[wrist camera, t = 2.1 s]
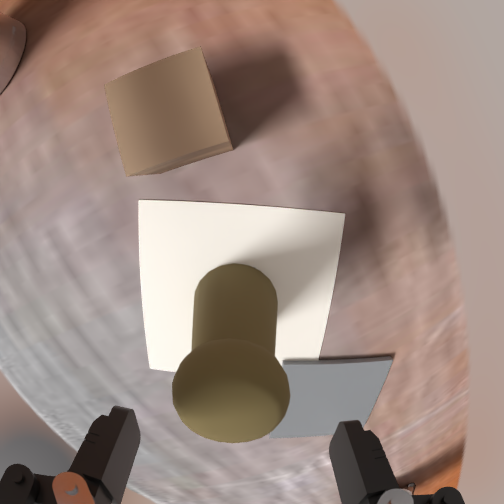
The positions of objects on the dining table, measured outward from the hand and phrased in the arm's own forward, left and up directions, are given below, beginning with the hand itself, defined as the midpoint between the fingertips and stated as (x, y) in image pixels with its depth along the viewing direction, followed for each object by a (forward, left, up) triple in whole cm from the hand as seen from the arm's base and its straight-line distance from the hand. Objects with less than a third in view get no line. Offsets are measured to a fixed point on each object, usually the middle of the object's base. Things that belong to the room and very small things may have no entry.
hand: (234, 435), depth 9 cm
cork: (0, 0, -12) cm, 12 cm away
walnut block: (-4, +12, -12) cm, 17 cm away
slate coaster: (+9, -10, -12) cm, 18 cm away
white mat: (0, 0, -12) cm, 12 cm away
